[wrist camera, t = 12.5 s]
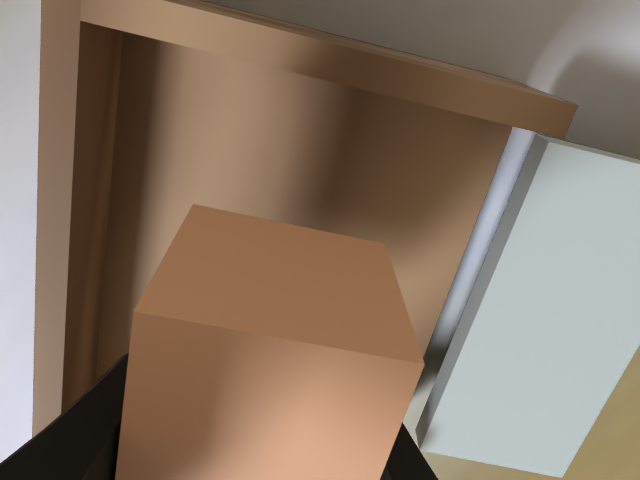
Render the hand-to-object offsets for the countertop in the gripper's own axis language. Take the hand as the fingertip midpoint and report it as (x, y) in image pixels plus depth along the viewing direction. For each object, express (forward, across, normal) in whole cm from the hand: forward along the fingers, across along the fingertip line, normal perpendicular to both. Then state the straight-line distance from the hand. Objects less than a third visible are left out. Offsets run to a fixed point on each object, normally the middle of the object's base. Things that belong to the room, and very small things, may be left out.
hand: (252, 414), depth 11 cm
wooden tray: (+8, 0, 0) cm, 8 cm away
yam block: (+2, 0, 0) cm, 2 cm away
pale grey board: (+7, -6, 0) cm, 9 cm away
